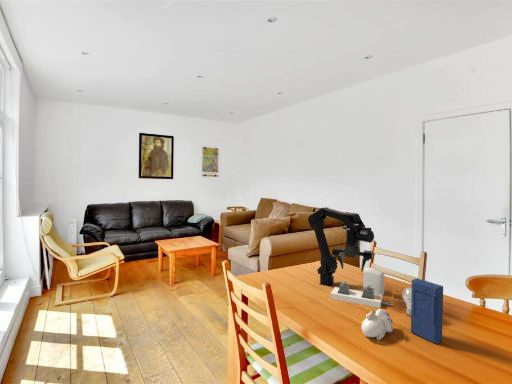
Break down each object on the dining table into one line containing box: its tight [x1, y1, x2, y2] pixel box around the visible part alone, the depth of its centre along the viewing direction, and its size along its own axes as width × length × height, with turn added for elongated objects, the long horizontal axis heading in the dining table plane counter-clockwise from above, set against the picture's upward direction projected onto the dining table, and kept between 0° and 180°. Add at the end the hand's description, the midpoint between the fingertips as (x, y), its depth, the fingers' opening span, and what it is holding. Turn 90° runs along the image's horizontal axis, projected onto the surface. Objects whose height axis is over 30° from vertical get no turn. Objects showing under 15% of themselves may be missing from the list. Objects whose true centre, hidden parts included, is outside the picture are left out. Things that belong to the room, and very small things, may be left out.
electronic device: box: [410, 278, 444, 345], centre depth 105 cm, size 10×5×20 cm, turn 31°
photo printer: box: [362, 267, 385, 296], centre depth 146 cm, size 10×4×12 cm, turn 39°
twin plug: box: [338, 280, 351, 295], centre depth 139 cm, size 4×4×8 cm
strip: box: [330, 286, 392, 309], centre depth 136 cm, size 26×9×4 cm, turn 61°
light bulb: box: [401, 286, 412, 317], centre depth 121 cm, size 7×7×12 cm
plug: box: [362, 285, 375, 300], centre depth 134 cm, size 4×4×8 cm
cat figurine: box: [361, 308, 393, 341], centre depth 108 cm, size 10×8×15 cm
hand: (352, 270), depth 143 cm, fingers open, 9 cm apart
